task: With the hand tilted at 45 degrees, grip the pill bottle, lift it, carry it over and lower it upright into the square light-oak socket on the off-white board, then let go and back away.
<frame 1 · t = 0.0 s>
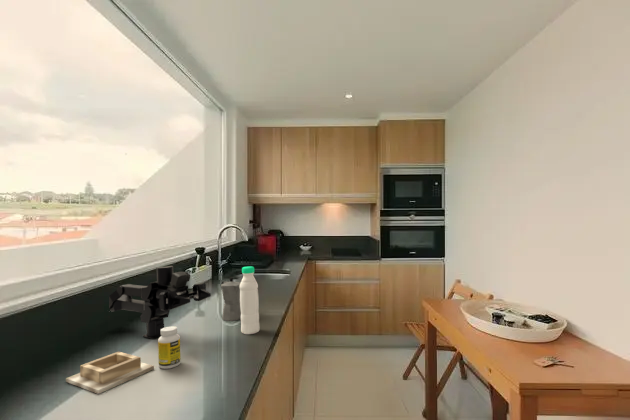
hand: (200, 297, 121), 17 cm above the worktop, tool horizontal, fingers open, 9 cm apart
coffeepot: (231, 318, 154), on the worktop
socket: (111, 375, 100), on the worktop
pill bottle: (169, 365, 105), on the worktop
water bottle: (250, 332, 134), on the worktop
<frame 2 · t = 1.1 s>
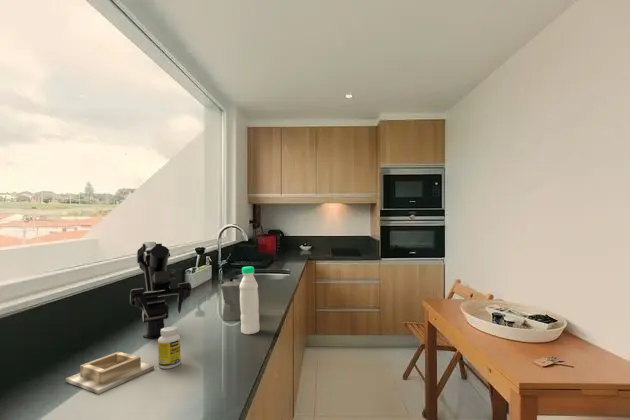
hand: (164, 314, 112), 14 cm above the worktop, tool tilted 45°, fingers open, 9 cm apart
nothing on the worktop moved.
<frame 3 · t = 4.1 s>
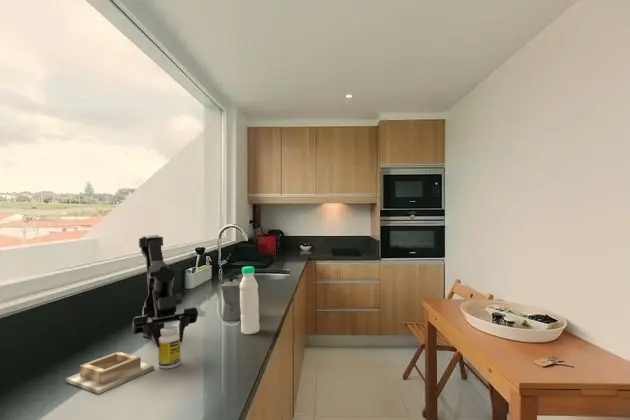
hand: (170, 344, 104), 7 cm above the worktop, tool tilted 45°, fingers closed on pill bottle, 6 cm apart
pill bottle: (169, 365, 105), on the worktop, touching gripper
everything else where it was.
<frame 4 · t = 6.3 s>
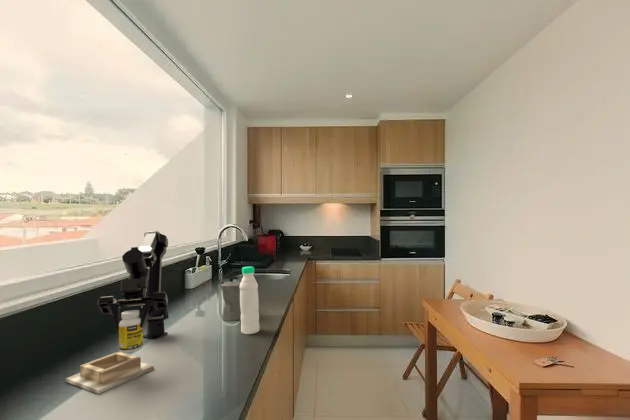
hand: (129, 328, 100), 13 cm above the worktop, tool tilted 45°, fingers closed on pill bottle, 6 cm apart
pill bottle: (131, 350, 101), point 6 cm above the worktop, touching gripper
everything else where it was.
when the fingers open (9 cm above the worktop, at t = 8.7 s): pill bottle drops 1 cm, resting on socket.
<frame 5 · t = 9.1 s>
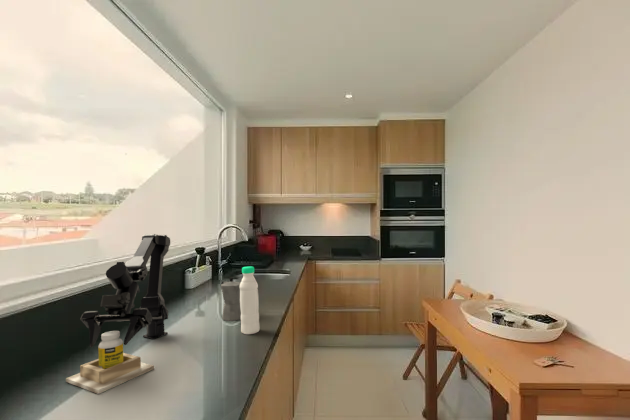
hand: (107, 345, 99), 9 cm above the worktop, tool tilted 45°, fingers open, 9 cm apart
pill bottle: (111, 372, 100), point 1 cm above the worktop, touching socket
everything else where it was.
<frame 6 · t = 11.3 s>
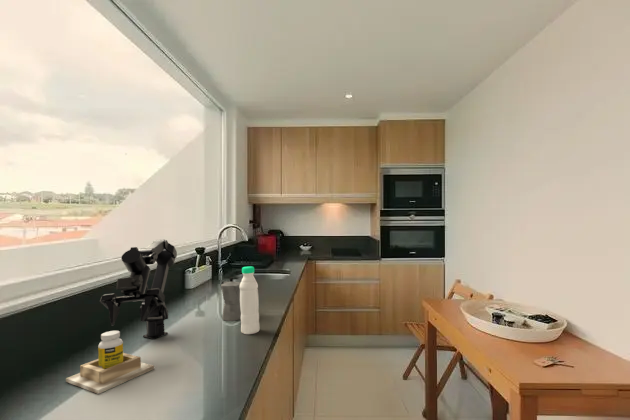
hand: (126, 323, 108), 12 cm above the worktop, tool tilted 40°, fingers open, 9 cm apart
nothing on the worktop moved.
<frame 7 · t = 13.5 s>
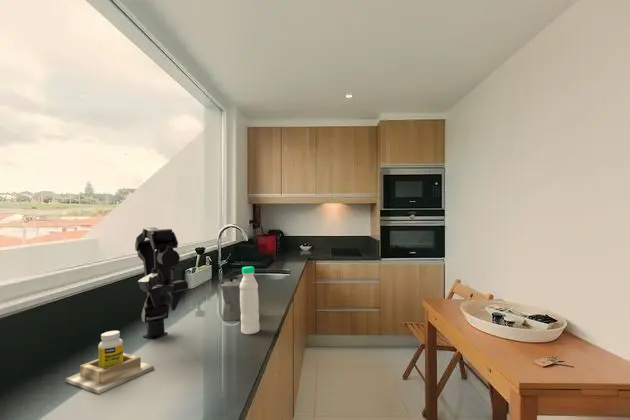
hand: (164, 309, 122), 13 cm above the worktop, tool pointing down, fingers open, 9 cm apart
nothing on the worktop moved.
at the end: pill bottle 0.1 cm off-centre on the socket, point 0.8 cm above the socket's base; pill bottle tilted 0°; the gripper is holding nothing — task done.
